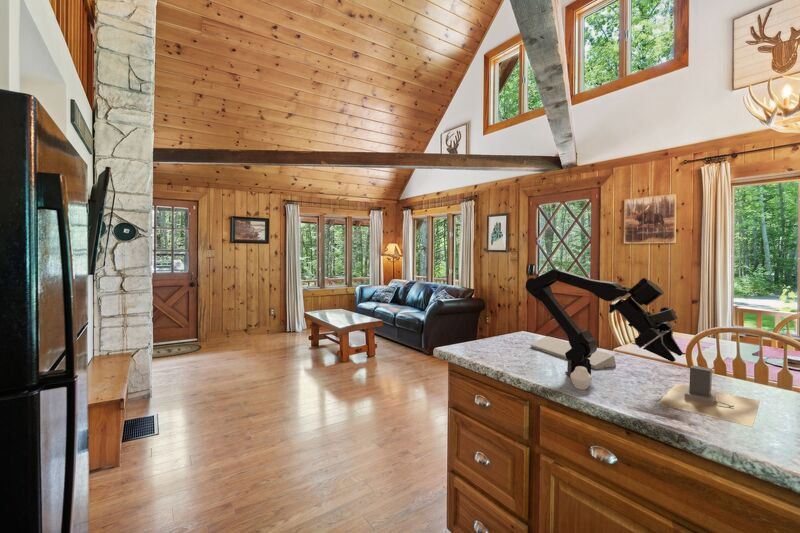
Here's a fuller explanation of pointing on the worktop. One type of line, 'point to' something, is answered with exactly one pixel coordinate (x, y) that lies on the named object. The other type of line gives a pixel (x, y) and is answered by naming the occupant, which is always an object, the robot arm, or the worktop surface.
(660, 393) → the worktop surface
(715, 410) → the birch board
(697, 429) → the worktop surface
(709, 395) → the grey stepped block
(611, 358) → the decorative molding
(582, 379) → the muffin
